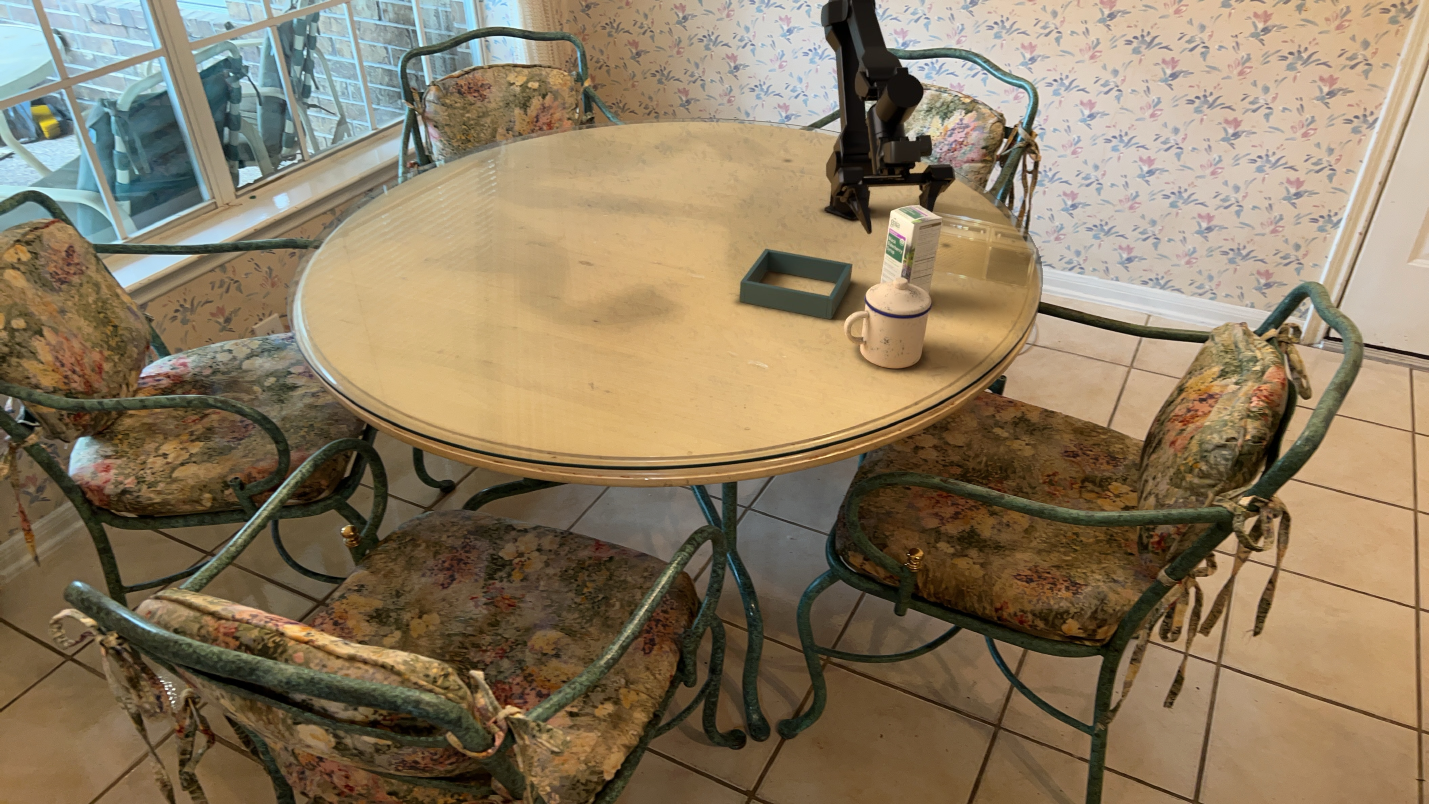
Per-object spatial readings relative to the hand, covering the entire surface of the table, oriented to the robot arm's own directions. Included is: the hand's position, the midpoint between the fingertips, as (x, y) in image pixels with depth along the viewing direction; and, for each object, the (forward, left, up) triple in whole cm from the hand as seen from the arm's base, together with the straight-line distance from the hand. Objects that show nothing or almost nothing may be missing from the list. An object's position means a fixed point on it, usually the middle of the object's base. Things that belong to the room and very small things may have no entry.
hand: (898, 232), depth 141 cm
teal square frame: (-9, -14, -9) cm, 19 cm away
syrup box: (+5, -4, -9) cm, 11 cm away
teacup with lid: (+11, -20, -9) cm, 24 cm away
